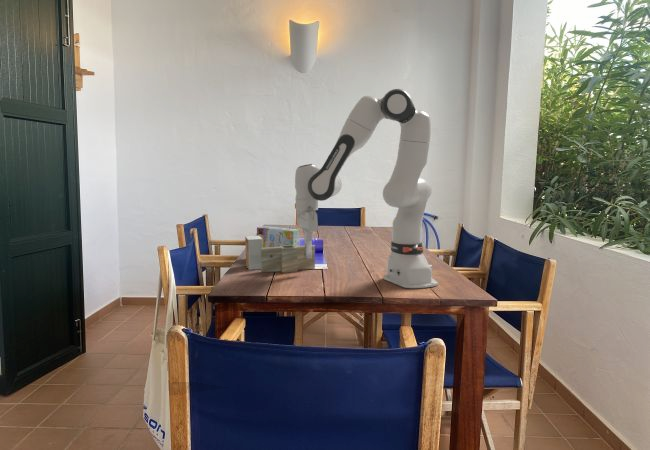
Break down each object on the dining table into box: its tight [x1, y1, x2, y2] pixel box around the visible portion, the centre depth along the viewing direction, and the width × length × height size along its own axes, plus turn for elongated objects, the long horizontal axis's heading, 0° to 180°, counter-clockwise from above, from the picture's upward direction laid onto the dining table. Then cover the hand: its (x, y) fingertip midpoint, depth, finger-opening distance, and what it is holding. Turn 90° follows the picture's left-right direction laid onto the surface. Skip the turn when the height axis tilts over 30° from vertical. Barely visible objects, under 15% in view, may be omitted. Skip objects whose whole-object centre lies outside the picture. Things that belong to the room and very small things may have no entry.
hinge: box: [260, 244, 316, 274], centre depth 199 cm, size 6×22×10 cm, turn 106°
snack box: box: [256, 225, 301, 248], centre depth 217 cm, size 21×6×15 cm, turn 56°
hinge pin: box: [303, 229, 313, 258], centre depth 192 cm, size 3×3×13 cm
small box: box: [244, 235, 263, 271], centre depth 204 cm, size 8×6×13 cm
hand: (307, 240), depth 192 cm, fingers closed on hinge pin, 3 cm apart
